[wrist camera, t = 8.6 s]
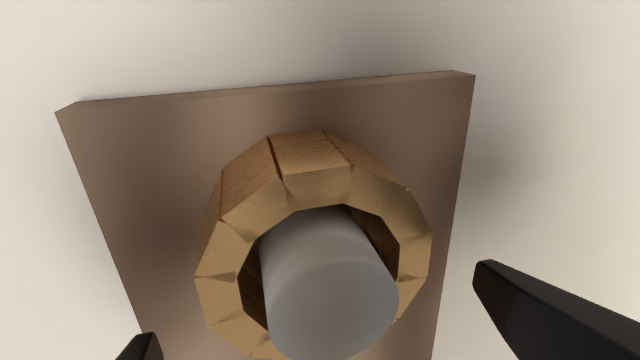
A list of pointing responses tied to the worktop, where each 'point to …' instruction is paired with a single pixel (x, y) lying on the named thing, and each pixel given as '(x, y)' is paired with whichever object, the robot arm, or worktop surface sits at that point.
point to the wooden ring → (282, 200)
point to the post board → (220, 126)
